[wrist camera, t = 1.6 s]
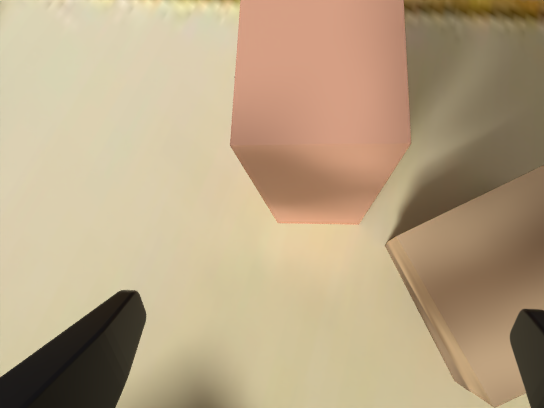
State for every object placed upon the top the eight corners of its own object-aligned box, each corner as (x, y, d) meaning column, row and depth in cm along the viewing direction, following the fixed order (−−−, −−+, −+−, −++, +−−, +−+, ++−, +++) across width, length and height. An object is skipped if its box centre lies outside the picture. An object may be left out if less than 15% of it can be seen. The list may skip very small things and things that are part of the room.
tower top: (620, 319, 17) (670, 324, 14) (469, 390, 17) (494, 407, 15) (520, 177, 19) (549, 162, 17) (386, 242, 19) (396, 236, 17)
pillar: (358, 224, 22) (410, 143, 9) (277, 222, 22) (230, 145, 10) (357, 148, 23) (402, -12, 11) (280, 148, 23) (240, -1, 11)
